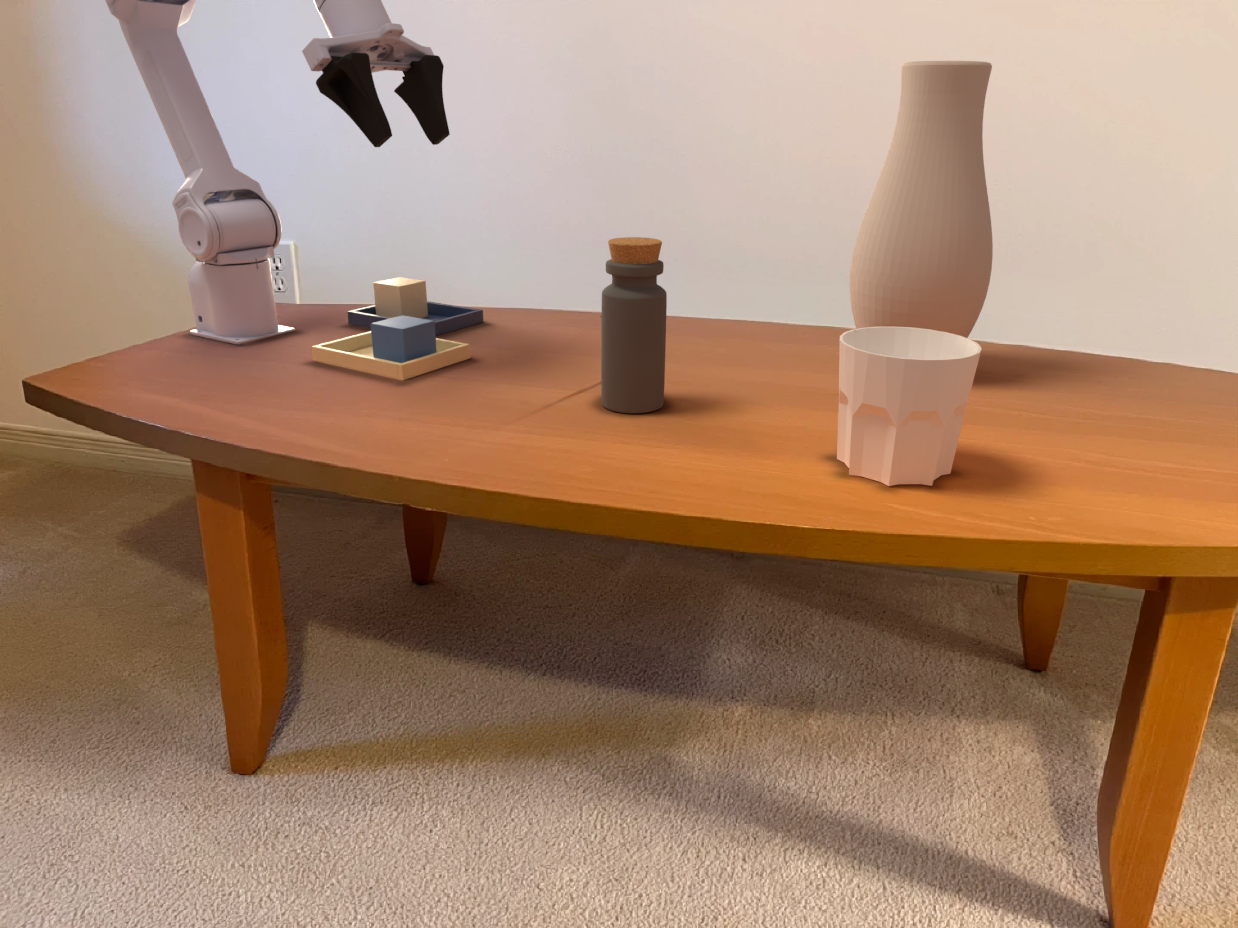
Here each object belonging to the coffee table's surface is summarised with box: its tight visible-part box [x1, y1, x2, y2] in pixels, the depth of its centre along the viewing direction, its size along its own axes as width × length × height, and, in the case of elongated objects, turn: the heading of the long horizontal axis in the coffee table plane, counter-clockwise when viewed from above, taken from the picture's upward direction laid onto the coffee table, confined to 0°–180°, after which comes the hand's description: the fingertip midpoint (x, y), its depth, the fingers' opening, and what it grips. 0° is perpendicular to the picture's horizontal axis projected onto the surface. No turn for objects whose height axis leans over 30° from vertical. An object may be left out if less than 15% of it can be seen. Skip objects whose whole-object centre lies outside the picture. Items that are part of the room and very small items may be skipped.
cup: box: [836, 327, 983, 487], centre depth 68 cm, size 10×10×10 cm
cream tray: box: [311, 330, 471, 381], centre depth 96 cm, size 13×10×2 cm
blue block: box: [370, 315, 437, 363], centre depth 93 cm, size 5×5×5 cm
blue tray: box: [347, 300, 484, 337], centre depth 112 cm, size 13×10×2 cm
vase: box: [849, 60, 994, 339], centre depth 91 cm, size 14×14×30 cm
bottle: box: [600, 236, 668, 414], centre depth 81 cm, size 6×6×15 cm
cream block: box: [372, 276, 428, 318], centre depth 114 cm, size 5×5×5 cm
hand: (413, 140), depth 84 cm, fingers open, 7 cm apart
